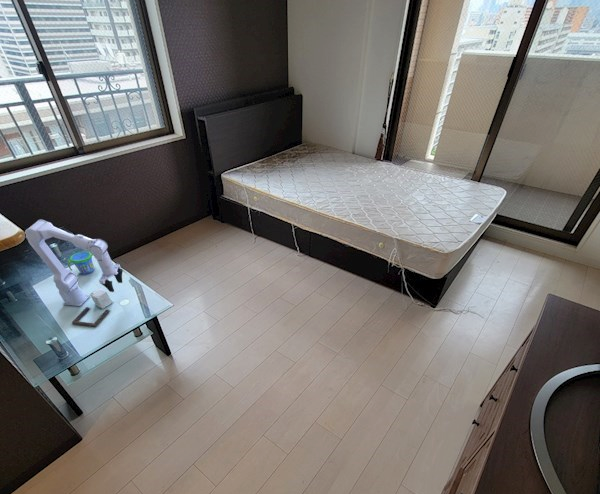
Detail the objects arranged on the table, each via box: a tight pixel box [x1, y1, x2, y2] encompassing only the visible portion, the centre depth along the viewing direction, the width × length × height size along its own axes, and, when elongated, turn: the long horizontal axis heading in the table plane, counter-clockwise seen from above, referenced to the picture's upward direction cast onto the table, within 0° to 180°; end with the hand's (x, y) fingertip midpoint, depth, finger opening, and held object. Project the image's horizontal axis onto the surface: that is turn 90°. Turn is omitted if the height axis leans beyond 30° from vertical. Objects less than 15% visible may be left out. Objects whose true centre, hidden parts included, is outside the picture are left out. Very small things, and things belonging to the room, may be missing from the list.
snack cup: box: [67, 251, 95, 275], centre depth 197 cm, size 16×10×10 cm
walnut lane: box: [71, 306, 110, 328], centre depth 170 cm, size 12×12×1 cm
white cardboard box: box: [89, 288, 113, 310], centre depth 176 cm, size 6×6×7 cm
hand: (116, 286), depth 173 cm, fingers open, 7 cm apart
